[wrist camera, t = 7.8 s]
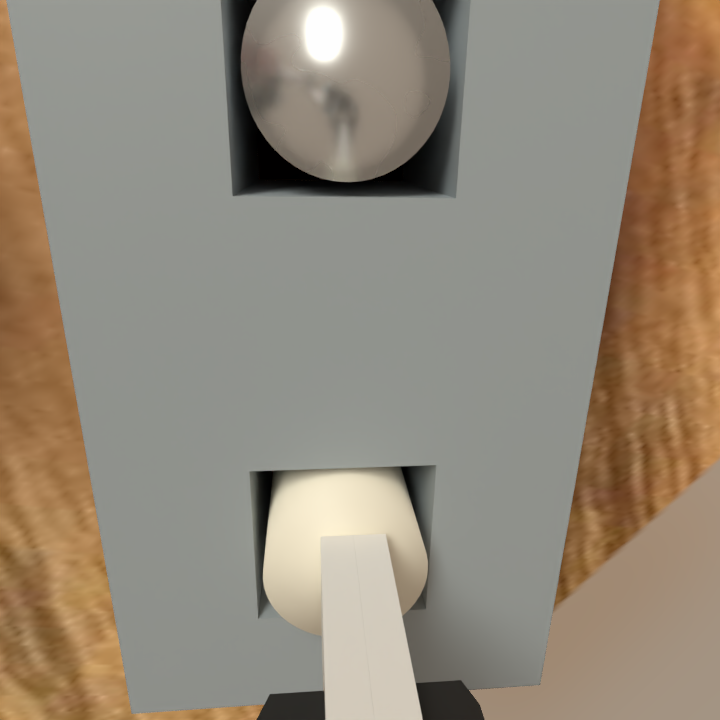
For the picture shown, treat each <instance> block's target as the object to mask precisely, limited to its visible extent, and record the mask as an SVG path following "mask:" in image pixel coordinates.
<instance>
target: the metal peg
mask: <svg viewBox="0 0 720 720" xmlns="http://www.w3.org/2000/svg"><path fill="white" fill-rule="evenodd" d="M241 75H242V84H243V88H244V93H245V97H246V101H247V104H248V106H249V109H250V112H251V114H252V116H253V118H254V120H255V122H256V124H257V126H258V128H259V130H260V131H261V133H262V134H263V136H264V137H265V139H266V140H267V141H268V142H269V144H270V145H271V146H272V147H273V148H274V149H275V150H276V151H277V152H278V153H279V154H280V155H281V156H282V157H283V158H284V159H285V160H287V161H288V162H290V163H291V164H292V165H294V166H295V167H297V168H299V169H300V170H302V171H304V172H306V173H308V174H311V175H313V176H316V177H319V178H322V179H326V180H331V181H338V182H358V181H364V180H369V179H373V178H376V177H379V176H382V175H385V174H387V173H389V172H391V171H393V170H395V169H396V168H398V167H399V166H401V165H402V164H404V163H405V162H407V161H408V160H409V159H410V158H411V157H412V156H413V155H414V154H416V153H417V152H418V150H419V149H420V148H421V147H422V146H423V145H424V144H425V142H426V141H427V139H428V138H429V137H430V135H431V134H432V132H433V131H434V129H435V127H436V125H437V123H438V121H439V119H440V116H441V114H442V111H443V108H444V106H445V102H446V98H447V94H448V89H449V81H450V53H449V44H448V40H447V36H446V31H445V28H444V25H443V23H442V20H441V17H440V15H439V13H438V11H437V9H436V7H435V5H434V3H433V1H432V0H257V1H256V3H255V5H254V7H253V8H252V11H251V14H250V16H249V19H248V21H247V24H246V28H245V32H244V36H243V42H242V50H241Z"/></svg>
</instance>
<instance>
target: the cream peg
mask: <svg viewBox="0 0 720 720" xmlns="http://www.w3.org/2000/svg"><path fill="white" fill-rule="evenodd" d="M370 534H386V538H387V543H388V548H389V553H390V558H391V563H392V568H393V573H394V578H395V583H396V588H397V593H398V598H399V603H400V608H401V613H402V616H403V615H404V614H405V613H406V612H407V611H408V610H409V609H410V608H411V607H412V606H413V605H414V604H415V602H416V601H417V599H418V598H419V596H420V594H421V592H422V590H423V588H424V586H425V582H426V579H427V573H428V559H427V554H426V550H425V547H424V543H423V540H422V537H421V533H420V530H419V527H418V523H417V520H416V517H415V513H414V510H413V506H412V503H411V500H410V496H409V493H408V490H407V486H406V483H405V480H404V476H403V473H402V470H401V466H395V467H365V468H335V469H306V470H276V471H273V478H272V487H271V497H270V507H269V517H268V527H267V536H266V546H265V556H264V566H263V583H264V589H265V592H266V595H267V597H268V599H269V601H270V603H271V605H272V606H273V607H274V609H275V610H276V611H277V612H278V614H279V615H280V616H281V617H282V618H284V619H285V620H286V621H287V622H289V623H290V624H292V625H294V626H295V627H297V628H299V629H301V630H303V631H306V632H309V633H312V634H315V635H320V636H322V629H321V537H322V536H346V535H370Z"/></svg>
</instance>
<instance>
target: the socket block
mask: <svg viewBox="0 0 720 720" xmlns="http://www.w3.org/2000/svg"><path fill="white" fill-rule="evenodd" d="M6 1H7V7H8V12H9V18H10V24H11V29H12V35H13V41H14V46H15V52H16V58H17V63H18V69H19V75H20V80H21V86H22V92H23V98H24V103H25V109H26V115H27V120H28V126H29V132H30V137H31V143H32V149H33V154H34V160H35V166H36V171H37V177H38V183H39V189H40V194H41V200H42V206H43V211H44V217H45V223H46V228H47V234H48V240H49V245H50V251H51V257H52V262H53V268H54V274H55V280H56V285H57V291H58V297H59V302H60V308H61V314H62V319H63V325H64V331H65V336H66V342H67V348H68V353H69V359H70V365H71V370H72V376H73V382H74V388H75V393H76V399H77V405H78V410H79V416H80V422H81V427H82V433H83V439H84V444H85V450H86V456H87V461H88V467H89V473H90V479H91V484H92V490H93V496H94V501H95V507H96V513H97V518H98V524H99V530H100V535H101V541H102V547H103V552H104V558H105V564H106V570H107V575H108V581H109V587H110V592H111V598H112V604H113V609H114V615H115V621H116V626H117V632H118V638H119V643H120V649H121V655H122V660H123V666H124V672H125V678H126V683H127V689H128V695H129V700H130V706H131V712H132V714H135V713H150V712H164V711H178V710H192V709H206V708H220V707H235V706H249V705H263V704H265V702H266V700H267V699H268V697H269V695H270V694H278V693H294V692H310V691H323V669H322V636H320V635H315V634H312V633H309V632H306V631H303V630H301V629H299V628H297V627H295V626H294V625H292V624H290V623H289V622H287V621H286V620H285V619H284V618H282V617H281V616H280V615H279V614H278V612H277V611H276V610H275V609H274V607H273V606H272V605H271V603H270V601H269V599H268V597H267V595H266V592H265V589H264V583H263V566H264V556H265V546H266V536H267V527H268V517H269V507H270V497H271V487H272V478H273V475H272V471H276V470H306V469H335V468H365V467H395V466H401V470H402V473H403V476H404V480H405V483H406V486H407V490H408V493H409V496H410V500H411V503H412V506H413V510H414V513H415V517H416V520H417V523H418V527H419V530H420V533H421V537H422V540H423V543H424V547H425V550H426V554H427V559H428V573H427V579H426V582H425V586H424V588H423V590H422V592H421V594H420V596H419V598H418V599H417V601H416V602H415V604H414V605H413V606H412V607H411V608H410V609H409V610H408V611H407V612H406V613H405V614H404V615H403V616H402V618H403V623H404V628H405V633H406V638H407V643H408V648H409V653H410V658H411V663H412V668H413V673H414V678H415V683H424V682H440V681H455V680H461V681H462V682H463V683H464V685H465V686H466V687H467V689H468V690H475V689H490V688H504V687H517V686H532V685H540V681H541V676H542V670H543V664H544V659H545V653H546V648H547V642H548V636H549V630H550V625H551V619H552V613H553V608H554V602H555V596H556V590H557V585H558V579H559V573H560V567H561V562H562V556H563V550H564V545H565V539H566V533H567V527H568V522H569V516H570V510H571V505H572V499H573V493H574V487H575V482H576V476H577V470H578V465H579V459H580V453H581V447H582V442H583V436H584V430H585V425H586V419H587V413H588V407H589V402H590V396H591V390H592V384H593V379H594V373H595V367H596V362H597V356H598V350H599V344H600V339H601V333H602V327H603V322H604V316H605V310H606V304H607V299H608V293H609V287H610V282H611V276H612V270H613V264H614V259H615V253H616V247H617V241H618V236H619V230H620V224H621V219H622V213H623V207H624V201H625V196H626V190H627V184H628V179H629V173H630V167H631V161H632V156H633V150H634V144H635V139H636V133H637V127H638V121H639V116H640V110H641V104H642V99H643V93H644V87H645V81H646V76H647V70H648V64H649V58H650V53H651V47H652V41H653V36H654V30H655V24H656V18H657V13H658V7H659V1H660V0H432V1H433V3H434V5H435V7H436V9H437V11H438V13H439V15H440V17H441V20H442V23H443V25H444V28H445V31H446V36H447V40H448V44H449V53H450V81H449V89H448V94H447V98H446V102H445V106H444V108H443V111H442V114H441V116H440V119H439V121H438V123H437V125H436V127H435V129H434V131H433V132H432V134H431V135H430V137H429V138H428V139H427V141H426V142H425V144H424V145H423V146H422V147H421V148H420V149H419V150H418V152H417V153H416V154H414V155H413V156H412V157H411V158H410V159H409V160H408V161H407V162H405V163H404V164H403V179H402V181H358V182H338V181H331V180H279V179H259V159H258V136H257V124H256V122H255V120H254V118H253V116H252V114H251V112H250V109H249V106H248V104H247V101H246V97H245V93H244V88H243V84H242V75H241V50H242V42H243V36H244V32H245V28H246V24H247V21H248V19H249V16H250V14H251V11H252V8H253V7H254V5H255V3H256V1H257V0H6Z"/></svg>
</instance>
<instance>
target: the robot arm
mask: <svg viewBox="0 0 720 720" xmlns="http://www.w3.org/2000/svg"><path fill="white" fill-rule="evenodd" d="M321 629H322V669H323V691H310V692H294V693H278V694H270V695H269V697H268V699H267V700H266V702H265V704H264V706H263V708H262V710H261V712H260V714H259V716H258V718H257V720H484V717H483V714H482V710H481V707H480V705H479V703H478V702H477V701H476V699H475V698H474V697H473V695H472V694H471V693H470V691H469V690H468V689H467V687H466V686H465V685H464V683H463V682H462V681H461V680H455V681H440V682H424V683H415V678H414V673H413V668H412V663H411V658H410V653H409V648H408V643H407V638H406V633H405V628H404V623H403V618H402V613H401V608H400V603H399V598H398V593H397V588H396V583H395V578H394V573H393V568H392V563H391V558H390V553H389V548H388V543H387V538H386V534H370V535H346V536H322V537H321Z"/></svg>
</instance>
